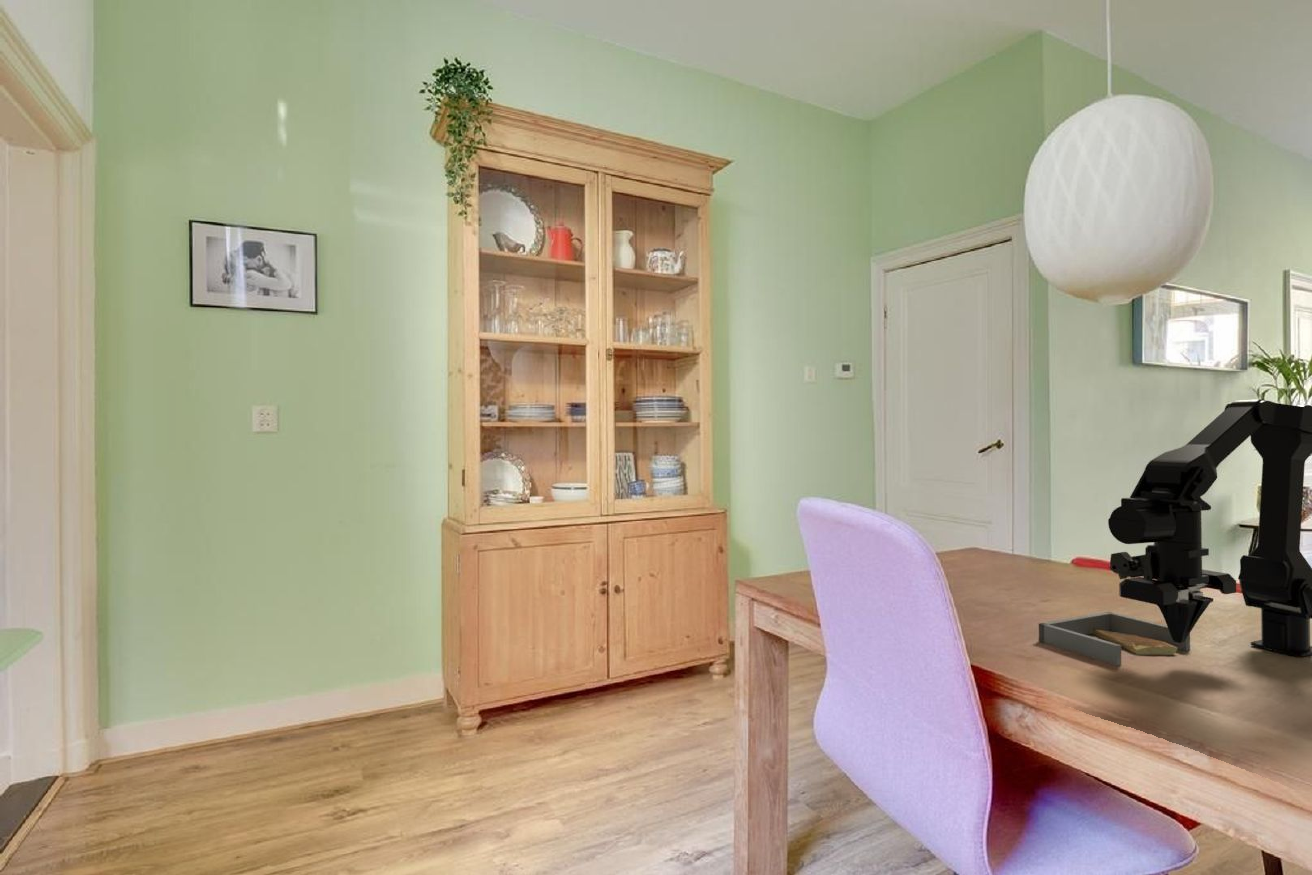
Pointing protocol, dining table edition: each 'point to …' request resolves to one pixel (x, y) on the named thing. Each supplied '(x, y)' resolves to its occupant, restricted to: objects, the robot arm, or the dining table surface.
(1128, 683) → the dining table surface
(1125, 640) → the shard
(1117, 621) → the box
